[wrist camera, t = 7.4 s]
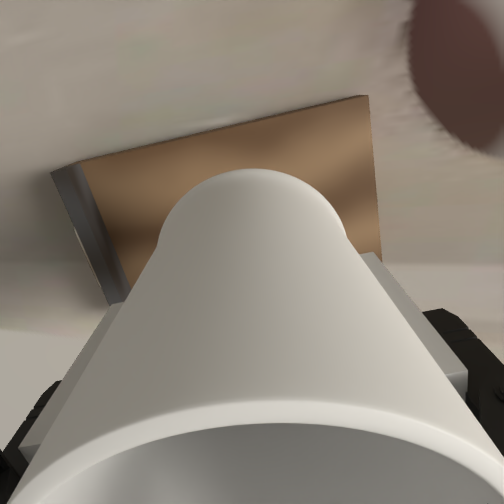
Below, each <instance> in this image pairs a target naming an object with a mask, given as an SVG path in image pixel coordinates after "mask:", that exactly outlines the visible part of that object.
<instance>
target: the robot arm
mask: <svg viewBox="0 0 504 504" xmlns="http://www.w3.org/2000/svg"><path fill="white" fill-rule="evenodd" d="M359 255H360V257H361V258H362V259H363V261H364V262H365V264H366V265H367V266H368V268H369V269H370V271H371V272H372V273H373V275H374V276H375V278H376V279H377V280H378V282H379V283H380V285H381V286H382V287H383V289H384V290H385V292H386V293H387V294H388V296H389V297H390V299H391V300H392V301H393V303H394V304H395V306H396V307H397V308H398V310H399V311H400V313H401V314H402V315H403V317H404V318H405V320H406V321H407V322H408V324H409V325H410V327H411V328H412V329H413V331H414V332H415V334H416V335H417V336H418V338H419V339H420V341H421V342H422V343H423V345H424V346H425V348H426V349H427V350H428V352H429V353H430V355H431V356H432V357H433V359H434V360H435V362H436V363H437V364H438V366H439V367H440V369H441V370H442V371H443V373H444V374H445V376H446V377H447V378H448V380H449V381H450V383H451V384H452V385H453V387H454V388H455V390H456V391H457V392H458V394H459V395H460V397H461V398H462V399H463V401H464V402H465V404H466V405H467V406H468V408H469V409H470V411H471V412H472V413H473V415H474V416H475V418H476V419H477V420H478V422H479V423H480V425H481V426H482V427H483V429H484V430H485V432H486V433H487V434H488V436H489V437H490V439H491V440H492V441H493V443H494V444H495V446H496V447H497V449H498V450H499V451H500V453H501V454H502V456H503V457H504V365H503V364H502V363H501V361H500V360H499V359H498V358H497V357H496V356H495V355H494V354H493V353H492V352H491V351H490V350H489V349H488V348H487V347H486V346H485V345H484V344H483V342H482V341H481V340H480V339H477V336H476V335H475V334H474V333H473V332H472V331H471V330H469V329H468V327H467V326H466V324H465V323H464V322H463V321H462V320H461V319H460V318H459V317H458V316H456V315H454V314H452V313H450V312H448V311H446V310H445V309H443V308H441V309H436V310H431V311H425V312H421V311H420V310H419V308H418V307H417V306H416V305H415V303H414V302H413V301H412V300H411V298H410V297H409V296H408V295H407V293H406V292H405V291H404V290H403V288H402V287H401V286H400V285H399V283H398V282H397V281H396V279H395V278H394V277H393V276H392V274H391V273H390V272H389V271H388V269H387V268H386V267H385V266H384V264H383V263H382V262H381V261H380V259H379V258H378V257H377V256H376V254H375V253H374V252H369V253H364V254H359ZM123 304H124V302H121V303H116V304H112V305H111V306H110V308H109V309H108V311H107V312H106V314H105V316H104V317H103V319H102V320H101V322H100V323H99V325H98V326H97V328H96V329H95V331H94V332H93V334H92V335H91V337H90V338H89V340H88V341H87V343H86V345H85V346H84V348H83V349H82V351H81V352H80V354H79V355H78V357H77V358H76V360H75V361H74V363H73V364H72V366H71V367H70V369H69V371H68V372H67V374H66V375H65V377H64V378H63V380H60V381H56V382H55V383H54V384H53V385H52V386H51V387H49V388H48V389H47V390H46V391H45V392H44V393H43V394H42V395H41V397H40V398H39V400H38V401H37V403H36V404H35V406H34V409H33V410H31V411H30V413H29V415H28V416H27V417H26V421H24V422H23V423H22V425H21V426H20V427H19V429H18V430H17V432H16V433H15V435H14V436H13V438H12V439H11V441H10V442H9V443H8V445H7V446H6V448H5V449H4V451H3V452H2V451H1V450H0V504H7V502H8V501H9V499H10V497H11V495H12V494H13V492H14V490H15V488H16V487H17V485H18V483H19V481H20V480H21V478H22V476H23V474H24V473H25V471H26V469H27V468H28V466H29V464H30V462H31V461H32V459H33V457H34V456H35V454H36V452H37V450H38V449H39V447H40V445H41V444H42V442H43V440H44V438H45V437H46V435H47V433H48V432H49V430H50V428H51V427H52V425H53V423H54V421H55V420H56V418H57V416H58V415H59V413H60V411H61V409H62V408H63V406H64V404H65V403H66V401H67V399H68V397H69V396H70V394H71V392H72V391H73V389H74V387H75V386H76V384H77V382H78V380H79V379H80V377H81V375H82V374H83V372H84V370H85V368H86V367H87V365H88V363H89V362H90V360H91V358H92V356H93V355H94V353H95V351H96V350H97V348H98V346H99V345H100V343H101V341H102V339H103V338H104V336H105V334H106V333H107V331H108V329H109V327H110V326H111V324H112V322H113V321H114V319H115V317H116V315H117V314H118V312H119V310H120V309H121V307H122V305H123ZM487 504H488V503H487Z"/></svg>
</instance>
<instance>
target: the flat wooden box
mask: <svg viewBox="0 0 504 504" xmlns="http://www.w3.org/2000/svg"><path fill="white" fill-rule="evenodd" d="M239 169H268V170H274V171H278V172H282V173H285V174H288V175H291V176H293V177H296V178H298V179H300V180H302V181H304V182H305V183H307V184H309V185H310V186H312V187H313V188H314V189H316V190H317V191H318V192H319V193H320V194H321V195H322V196H324V197H325V199H326V200H327V201H328V202H329V203H330V204H331V206H332V207H333V208H334V210H335V211H336V213H337V214H338V216H339V218H340V220H341V222H342V224H343V227H344V229H345V232H346V236H347V238H348V240H349V241H350V243H351V244H352V245H353V247H354V248H355V250H356V251H357V252H358V254H364V253H369V252H374V253H375V254H376V256H377V257H378V258H379V259H380V261H381V262H382V253H381V241H380V229H379V217H378V205H377V193H376V181H375V169H374V157H373V145H372V134H371V122H370V110H369V98H368V95H358V96H353V97H349V98H345V99H341V100H336V101H332V102H328V103H324V104H319V105H315V106H311V107H307V108H302V109H298V110H294V111H290V112H285V113H281V114H277V115H273V116H269V117H264V118H260V119H256V120H252V121H247V122H243V123H239V124H235V125H230V126H226V127H222V128H218V129H213V130H209V131H205V132H201V133H196V134H192V135H188V136H184V137H180V138H175V139H171V140H167V141H163V142H158V143H154V144H150V145H146V146H141V147H137V148H133V149H129V150H124V151H120V152H116V153H112V154H107V155H103V156H99V157H95V158H91V159H86V160H82V161H78V162H75V163H73V164H70V165H68V166H65V167H63V168H61V169H58V170H56V171H53V172H51V175H52V178H53V180H54V182H55V184H56V187H57V189H58V191H59V193H60V196H61V198H62V200H63V202H64V205H65V207H66V209H67V211H68V214H69V216H70V218H71V220H72V223H73V225H74V227H75V229H74V231H75V234H76V236H77V238H78V240H79V243H80V245H81V247H82V249H83V252H84V254H85V256H86V258H87V260H88V263H89V265H90V267H91V269H92V272H93V274H94V276H95V278H96V281H97V283H98V285H99V287H100V286H101V288H102V290H103V292H104V294H105V296H106V299H107V301H108V303H109V305H110V306H111V305H112V304H116V303H121V302H125V300H126V298H127V297H128V295H129V293H130V292H131V290H132V288H133V286H134V285H135V283H136V281H137V280H138V278H139V276H140V274H141V273H142V271H143V269H144V268H145V266H146V264H147V262H148V261H149V259H150V257H151V256H152V254H153V252H154V251H155V249H156V247H157V243H158V239H159V235H160V232H161V229H162V226H163V224H164V222H165V220H166V218H167V216H168V214H169V213H170V211H171V210H172V208H173V207H174V206H175V205H176V203H177V202H178V201H179V200H180V199H181V198H182V197H183V196H184V195H185V194H186V193H187V192H188V191H190V190H191V189H192V188H194V187H195V186H196V185H198V184H200V183H201V182H203V181H205V180H207V179H209V178H211V177H213V176H216V175H218V174H221V173H225V172H229V171H233V170H239Z"/></svg>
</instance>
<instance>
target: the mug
mask: <svg viewBox="0 0 504 504" xmlns="http://www.w3.org/2000/svg"><path fill="white" fill-rule="evenodd" d="M487 503H488V504H504V457H503V456H502V454H501V453H500V451H499V450H498V449H497V447H496V446H495V444H494V443H493V441H492V440H491V439H490V437H489V436H488V434H487V433H486V432H485V430H484V429H483V427H482V426H481V425H480V423H479V422H478V420H477V419H476V418H475V416H474V415H473V413H472V412H471V411H470V409H469V408H468V406H467V405H466V404H465V402H464V401H463V399H462V398H461V397H460V395H459V394H458V392H457V391H456V390H455V388H454V387H453V385H452V384H451V383H450V381H449V380H448V378H447V377H446V376H445V374H444V373H443V371H442V370H441V369H440V367H439V366H438V364H437V363H436V362H435V360H434V359H433V357H432V356H431V355H430V353H429V352H428V350H427V349H426V348H425V346H424V345H423V343H422V342H421V341H420V339H419V338H418V336H417V335H416V334H415V332H414V331H413V329H412V328H411V327H410V325H409V324H408V322H407V321H406V320H405V318H404V317H403V315H402V314H401V313H400V311H399V310H398V308H397V307H396V306H395V304H394V303H393V301H392V300H391V299H390V297H389V296H388V294H387V293H386V292H385V290H384V289H383V287H382V286H381V285H380V283H379V282H378V280H377V279H376V278H375V276H374V275H373V273H372V272H371V271H370V269H369V268H368V266H367V265H366V264H365V262H364V261H363V259H362V258H361V257H360V255H359V254H358V252H357V251H356V250H355V248H354V247H353V245H352V244H351V243H350V241H349V240H348V238H347V236H346V232H345V229H344V227H343V224H342V222H341V220H340V218H339V216H338V214H337V213H336V211H335V210H334V208H333V207H332V206H331V204H330V203H329V202H328V201H327V200H326V199H325V197H324V196H322V195H321V194H320V193H319V192H318V191H317V190H316V189H314V188H313V187H312V186H310V185H309V184H307V183H305V182H304V181H302V180H300V179H298V178H296V177H293V176H291V175H288V174H285V173H282V172H278V171H274V170H268V169H239V170H233V171H229V172H225V173H221V174H218V175H216V176H213V177H211V178H209V179H207V180H205V181H203V182H201V183H200V184H198V185H196V186H195V187H194V188H192V189H191V190H190V191H188V192H187V193H186V194H185V195H184V196H183V197H182V198H181V199H180V200H179V201H178V202H177V203H176V205H175V206H174V207H173V208H172V210H171V211H170V213H169V214H168V216H167V218H166V220H165V222H164V224H163V226H162V229H161V232H160V235H159V239H158V243H157V247H156V249H155V251H154V252H153V254H152V256H151V257H150V259H149V261H148V262H147V264H146V266H145V268H144V269H143V271H142V273H141V274H140V276H139V278H138V280H137V281H136V283H135V285H134V286H133V288H132V290H131V292H130V293H129V295H128V297H127V298H126V300H125V302H124V304H123V305H122V307H121V309H120V310H119V312H118V314H117V315H116V317H115V319H114V321H113V322H112V324H111V326H110V327H109V329H108V331H107V333H106V334H105V336H104V338H103V339H102V341H101V343H100V345H99V346H98V348H97V350H96V351H95V353H94V355H93V356H92V358H91V360H90V362H89V363H88V365H87V367H86V368H85V370H84V372H83V374H82V375H81V377H80V379H79V380H78V382H77V384H76V386H75V387H74V389H73V391H72V392H71V394H70V396H69V397H68V399H67V401H66V403H65V404H64V406H63V408H62V409H61V411H60V413H59V415H58V416H57V418H56V420H55V421H54V423H53V425H52V427H51V428H50V430H49V432H48V433H47V435H46V437H45V438H44V440H43V442H42V444H41V445H40V447H39V449H38V450H37V452H36V454H35V456H34V457H33V459H32V461H31V462H30V464H29V466H28V468H27V469H26V471H25V473H24V474H23V476H22V478H21V480H20V481H19V483H18V485H17V487H16V488H15V490H14V492H13V494H12V495H11V497H10V499H9V501H8V502H7V504H487Z"/></svg>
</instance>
